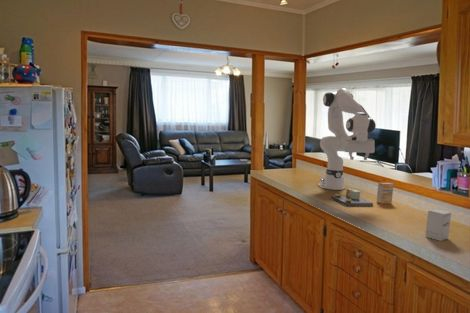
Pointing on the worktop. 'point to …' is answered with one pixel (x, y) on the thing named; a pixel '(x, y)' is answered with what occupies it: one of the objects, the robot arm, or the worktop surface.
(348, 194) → the beige block
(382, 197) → the supplement box
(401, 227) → the worktop surface
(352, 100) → the robot arm
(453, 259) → the worktop surface
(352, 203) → the plate
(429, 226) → the supplement box
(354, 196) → the pale green rectangular block
